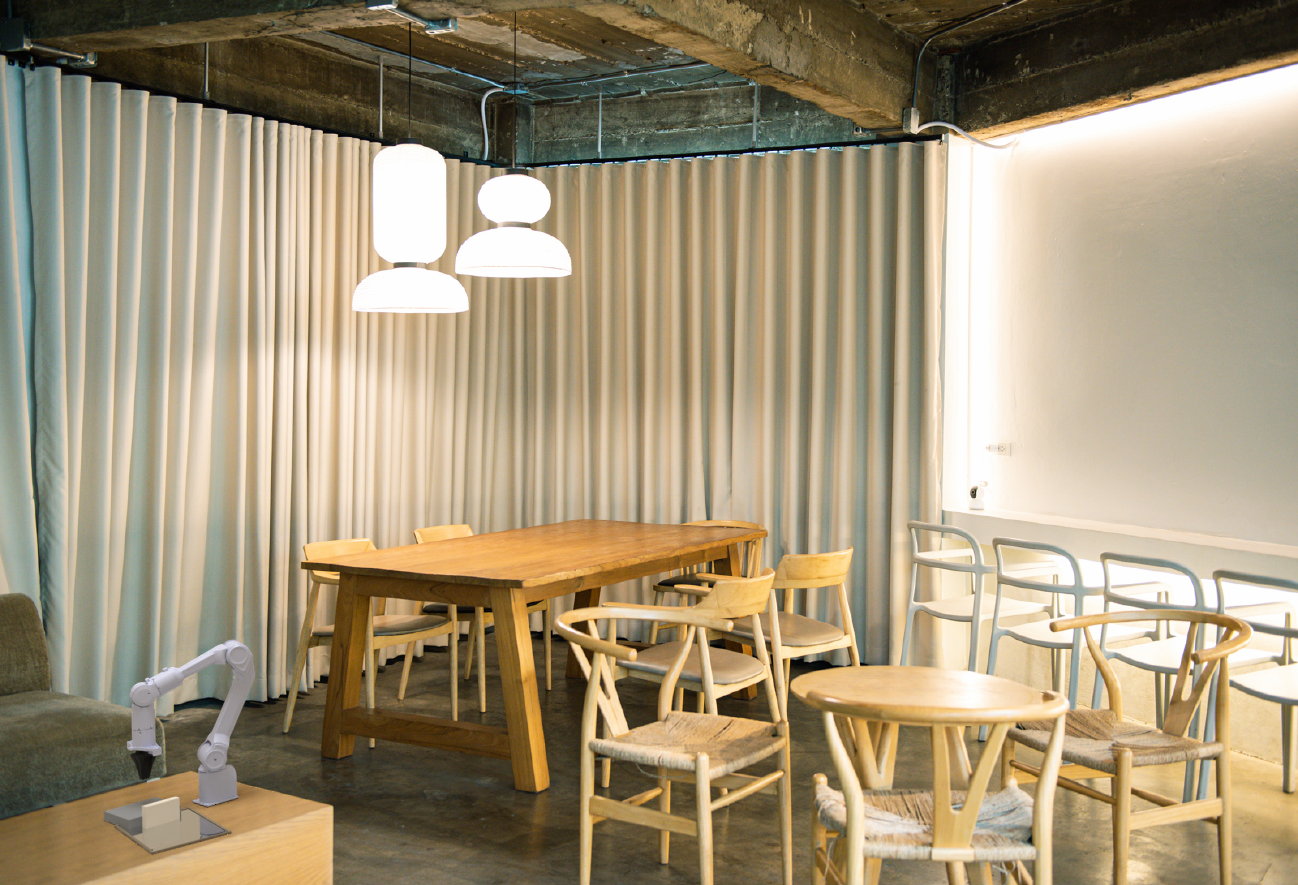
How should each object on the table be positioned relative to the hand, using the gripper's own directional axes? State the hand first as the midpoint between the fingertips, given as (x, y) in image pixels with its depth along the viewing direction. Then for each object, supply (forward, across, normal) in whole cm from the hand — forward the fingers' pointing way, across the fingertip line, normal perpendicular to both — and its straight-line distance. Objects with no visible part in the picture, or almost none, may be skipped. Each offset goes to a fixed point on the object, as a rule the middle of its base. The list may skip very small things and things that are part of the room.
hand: (144, 778), depth 285 cm
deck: (+9, +2, -2) cm, 10 cm away
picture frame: (+10, +19, -3) cm, 22 cm away
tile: (+6, +11, -2) cm, 13 cm away
